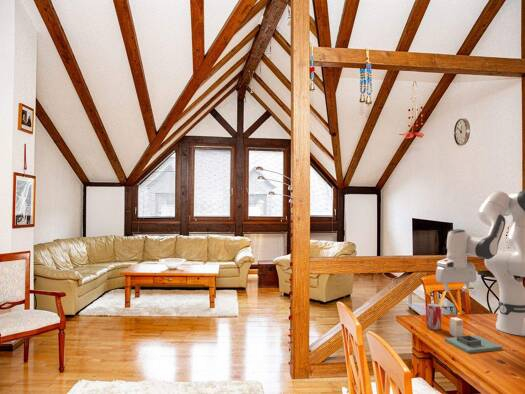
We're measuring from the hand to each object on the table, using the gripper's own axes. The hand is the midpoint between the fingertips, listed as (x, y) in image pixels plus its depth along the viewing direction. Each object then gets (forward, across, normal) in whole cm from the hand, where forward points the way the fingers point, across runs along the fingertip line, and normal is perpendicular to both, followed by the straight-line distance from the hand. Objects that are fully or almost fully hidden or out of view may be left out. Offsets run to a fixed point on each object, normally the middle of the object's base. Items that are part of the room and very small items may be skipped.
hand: (456, 291), depth 179 cm
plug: (+21, -1, 0) cm, 21 cm away
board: (+21, +1, +12) cm, 25 cm away
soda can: (+22, +4, -11) cm, 24 cm away
